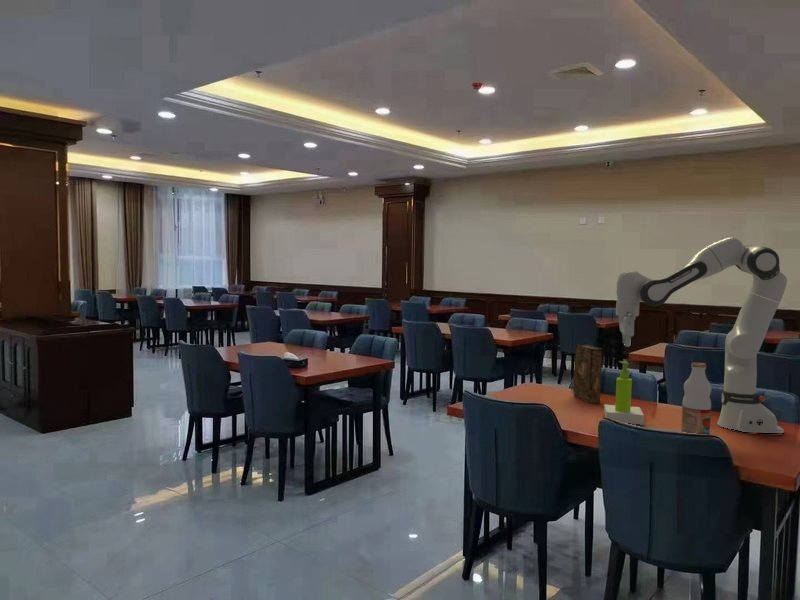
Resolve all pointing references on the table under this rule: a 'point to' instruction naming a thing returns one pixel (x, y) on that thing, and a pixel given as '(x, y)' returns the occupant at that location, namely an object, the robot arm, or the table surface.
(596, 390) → the book
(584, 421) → the table surface
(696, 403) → the fruit juice
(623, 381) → the soap dispenser
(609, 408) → the plinth
